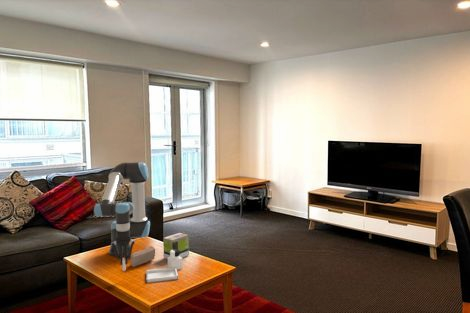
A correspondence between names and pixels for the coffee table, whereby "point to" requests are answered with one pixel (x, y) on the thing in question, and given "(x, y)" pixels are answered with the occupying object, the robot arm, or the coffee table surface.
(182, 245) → the tea box
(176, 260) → the medicine bottle
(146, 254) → the brick
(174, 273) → the tray
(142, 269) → the coffee table surface
